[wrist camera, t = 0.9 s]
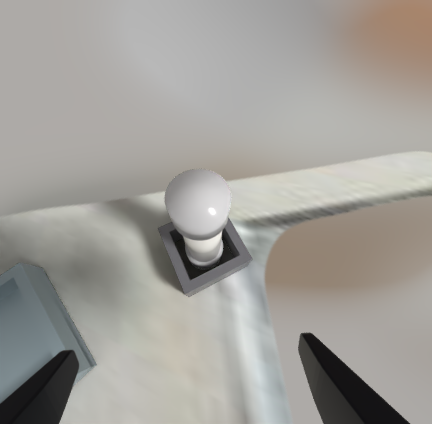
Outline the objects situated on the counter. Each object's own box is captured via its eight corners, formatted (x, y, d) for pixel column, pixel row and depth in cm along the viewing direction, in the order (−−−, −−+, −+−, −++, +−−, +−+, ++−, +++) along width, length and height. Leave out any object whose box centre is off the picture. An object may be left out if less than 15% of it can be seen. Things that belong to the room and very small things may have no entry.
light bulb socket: (247, 266, 24) (252, 259, 20) (188, 297, 22) (184, 294, 19) (218, 214, 26) (219, 201, 23) (164, 238, 25) (157, 228, 22)
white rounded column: (228, 259, 24) (243, 209, 12) (196, 276, 23) (180, 238, 11) (212, 230, 25) (213, 160, 14) (182, 244, 24) (155, 182, 13)
